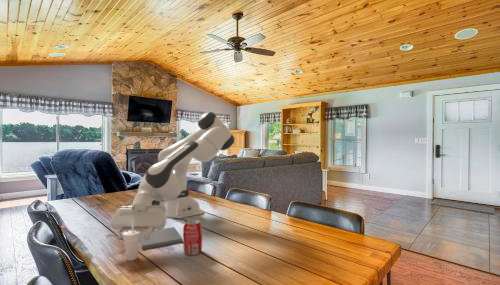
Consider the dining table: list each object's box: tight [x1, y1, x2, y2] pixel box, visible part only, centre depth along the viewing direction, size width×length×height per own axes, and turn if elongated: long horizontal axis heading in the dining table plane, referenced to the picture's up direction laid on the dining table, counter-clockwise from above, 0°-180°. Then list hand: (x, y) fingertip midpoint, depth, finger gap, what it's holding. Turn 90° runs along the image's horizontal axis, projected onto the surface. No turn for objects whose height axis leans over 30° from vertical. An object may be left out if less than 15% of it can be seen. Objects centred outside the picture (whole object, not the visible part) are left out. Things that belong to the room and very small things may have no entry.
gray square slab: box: [139, 226, 183, 250], centre depth 113 cm, size 16×16×2 cm
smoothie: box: [122, 220, 142, 261], centre depth 95 cm, size 6×6×14 cm
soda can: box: [182, 218, 203, 256], centre depth 100 cm, size 7×7×12 cm
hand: (132, 239), depth 95 cm, fingers open, 8 cm apart
